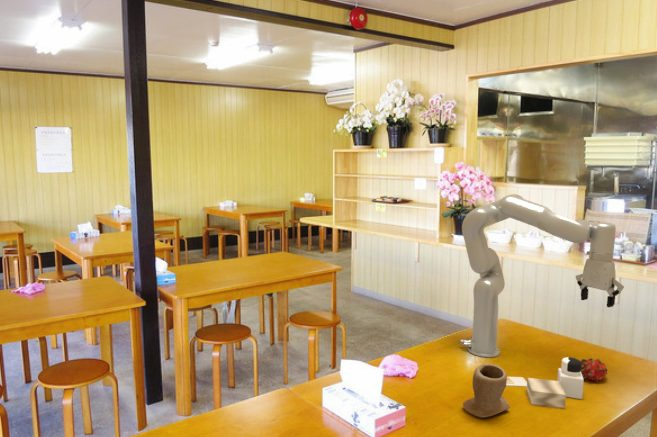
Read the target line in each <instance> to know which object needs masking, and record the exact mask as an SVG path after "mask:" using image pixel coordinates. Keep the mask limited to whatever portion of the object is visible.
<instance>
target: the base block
mask: <svg viewBox="0 0 657 437" xmlns="http://www.w3.org/2000/svg"><path fill="white" fill-rule="evenodd" d="M526 382H527V387H526V394H527V396H528V400H529V402H530V405H531V406H536V407H537V406H538V407H547V408H555V409H563V410H565V409H566V407H565V406H566V398H567V397H566V394H565V392H564V390H563V388H562V386H561V384H560V382H559V381H557V380H553V379H552V380H551V379H543V378H542V379H540V378H532V377H527V380H526Z"/></svg>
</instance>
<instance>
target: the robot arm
mask: <svg viewBox="0 0 657 437" xmlns="http://www.w3.org/2000/svg"><path fill="white" fill-rule="evenodd" d="M507 219H513V220H515V221H518V222H521V223H524V224H527V225H528V226H531V227H534V228H537V229H539V230H541V231H543V232H545V233H547V234H549V235H551V236H553V237H554V236H555V237H557V238H560V239H562V240H565V241H567V242H571V243H574V244H582V243H584V242H585V241H587V240H590V244H589V251H586V255H587V256H588V258H587V259H586V260H585V264H584V266H583V271H582V273H581V274H577V275H575V279H576V283H577V285H578V286H579V289H580V300H581V301H587V300H588V299H589V288H592V289H597V290H601V291H605V292H607V294H608V296H607V300H606V307H607V308H613V307H614V306H615V302H616V297H617V296H618V295H619V294H621V293H622V291H623V289H624V288H625V287H624V285H623V284H622V283H620V282H619V281H618V280H616V265H615V262H614V252H615V240H616V232H617V228H616V225H615V224H613V223H612V222H611V223H610V222H604V221H603V222H602V221H598V222H596V221H590V220H585V219H576V220H573V219H570V218H567V217H564V216H562V215H559V214H556V213H555V212H553V211H552V210H551V209H550V208H549V207H547V206H545V205H542V204H539V203H536V202H534V201H530V200H527V199H525V198H524V197H523V196H521V195H519V194H516V193H512V194H511V193H510V194H508V195H505V196H503V197H502V198H500V199H498V200H495V201H493V202H491V203H487V204H485V205H482V206H477V207H476V208H474V209H471V211H469V212H468V213H467V214H466V216H465V217H464V219H463V221H462V225H461V231H462V236H463V240H464V245H465V250H466V253H467V257H468V262H469V265H470V268H471V270H472V271H473V272H474V273H475V274H479V278H478V279H477V280H476V282H475V283H474V286H473V317H472V318H473V319H472V337H470V338H469V339H462V338H461V339H460V345H463V346H464V347H467V351H468V352H469V353H470V354H471V355H475V356H478V357H483V358H494V357H498V356H499V355H500V352H501V350H500V349H499V348H498V347H497V338H498V320H499V296H500V294H501V293H502V292H503V290H504V288H505V278H504V277H505V276H504V274H503V270H502V266H501V261H500V259H499V256H498V254H497V252H496V251H495V250H494V249H492V248H491V247H489V245H488V241H487V237H486V233H485V232H484V230H485V228H487V227H490V226H492V225H494V224H497V223H499V222H502V221H506V220H507ZM615 288H616V290H615Z"/></svg>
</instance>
